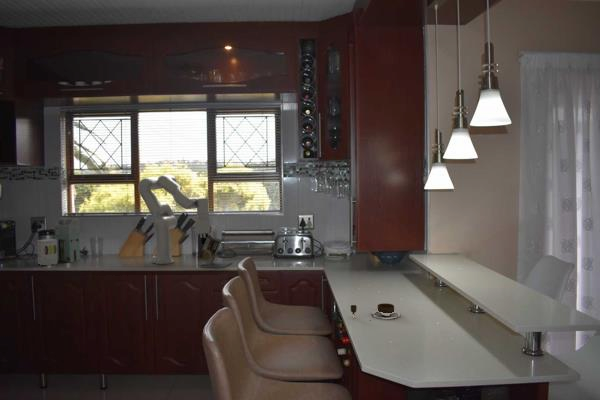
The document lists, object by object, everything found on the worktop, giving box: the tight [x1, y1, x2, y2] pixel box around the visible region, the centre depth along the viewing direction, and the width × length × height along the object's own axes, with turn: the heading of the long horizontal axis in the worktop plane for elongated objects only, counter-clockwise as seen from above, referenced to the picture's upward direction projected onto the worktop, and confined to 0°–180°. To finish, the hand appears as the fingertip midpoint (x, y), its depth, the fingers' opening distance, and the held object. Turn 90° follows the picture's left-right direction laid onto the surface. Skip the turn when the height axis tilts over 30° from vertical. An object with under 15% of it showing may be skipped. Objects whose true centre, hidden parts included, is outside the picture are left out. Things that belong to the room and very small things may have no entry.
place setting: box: [350, 303, 395, 315], centre depth 202 cm, size 18×20×6 cm
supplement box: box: [36, 238, 58, 266], centre depth 323 cm, size 10×9×17 cm
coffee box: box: [198, 235, 222, 265], centre depth 316 cm, size 9×6×16 cm
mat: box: [203, 261, 233, 269], centre depth 314 cm, size 12×17×1 cm
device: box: [54, 217, 81, 263], centre depth 335 cm, size 16×8×30 cm, turn 60°
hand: (204, 243), depth 316 cm, fingers closed
